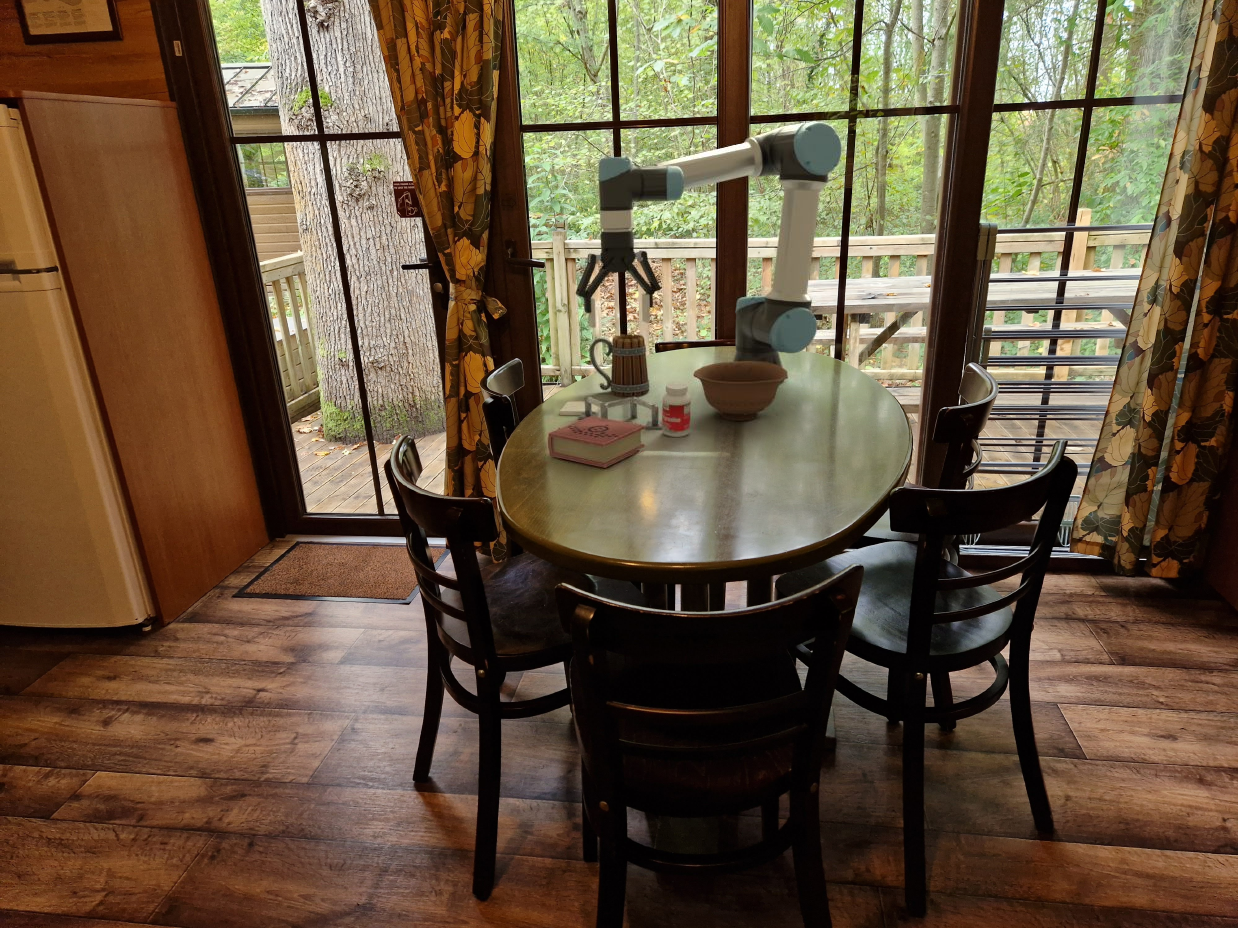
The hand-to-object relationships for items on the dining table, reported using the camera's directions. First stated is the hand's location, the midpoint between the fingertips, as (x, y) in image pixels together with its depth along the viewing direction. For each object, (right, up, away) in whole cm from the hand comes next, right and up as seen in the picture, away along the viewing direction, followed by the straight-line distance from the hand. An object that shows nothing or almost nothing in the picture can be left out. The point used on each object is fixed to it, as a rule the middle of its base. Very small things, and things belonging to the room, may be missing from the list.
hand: (619, 324), depth 185 cm
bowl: (+29, -21, +2) cm, 36 cm away
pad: (-9, -19, +11) cm, 24 cm away
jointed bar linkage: (+1, -23, +1) cm, 23 cm away
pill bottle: (+13, -26, -10) cm, 31 cm away
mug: (0, -14, +27) cm, 30 cm away
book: (-5, -30, -18) cm, 36 cm away
